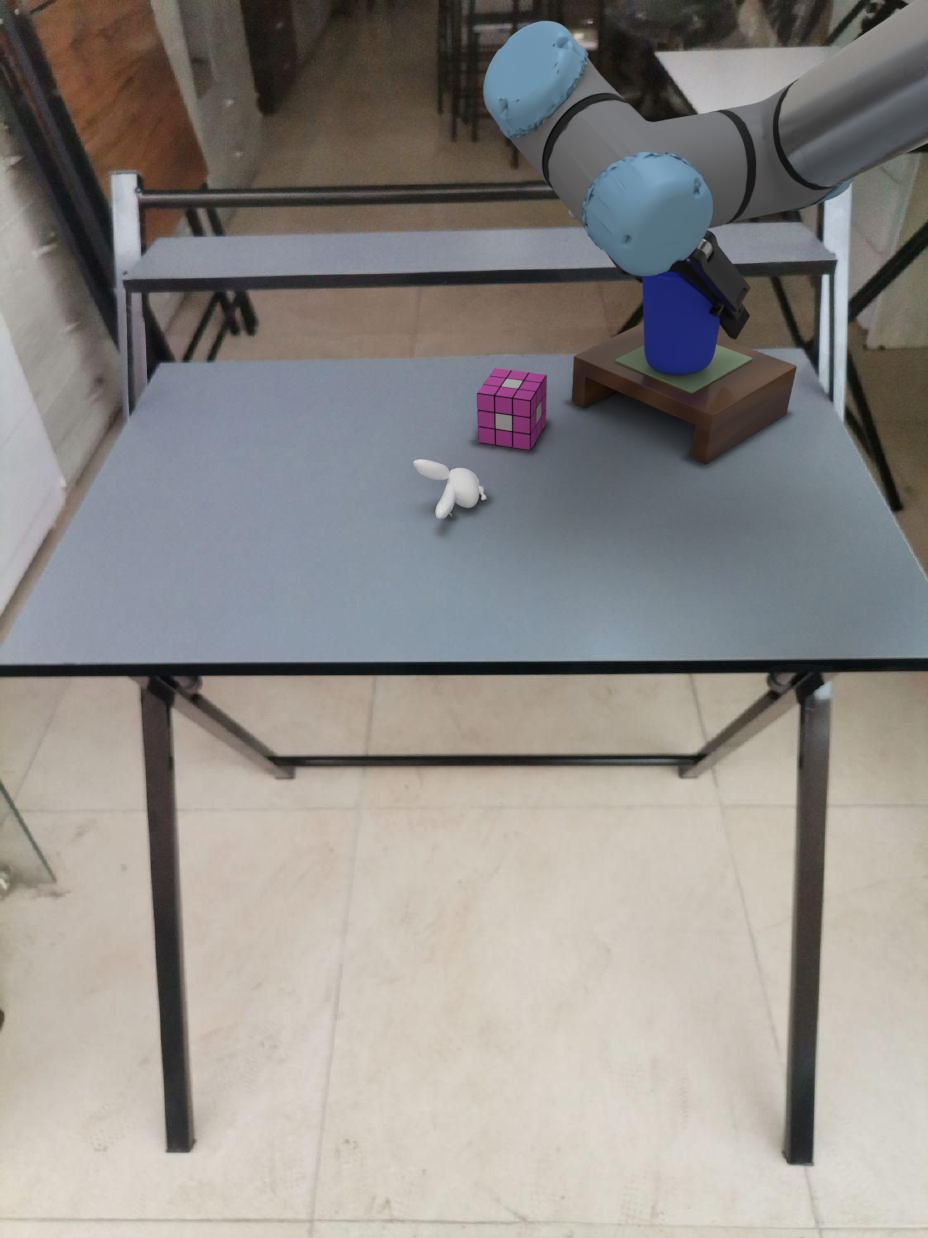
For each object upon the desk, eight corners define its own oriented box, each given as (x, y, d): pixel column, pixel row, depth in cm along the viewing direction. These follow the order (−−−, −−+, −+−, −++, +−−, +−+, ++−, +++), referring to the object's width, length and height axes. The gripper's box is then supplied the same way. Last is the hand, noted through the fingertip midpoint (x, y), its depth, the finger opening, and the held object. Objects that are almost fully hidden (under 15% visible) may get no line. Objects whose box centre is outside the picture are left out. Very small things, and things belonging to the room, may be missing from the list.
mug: (734, 339, 98) (746, 242, 92) (709, 385, 90) (720, 282, 84) (658, 332, 101) (664, 237, 95) (627, 376, 93) (631, 275, 87)
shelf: (787, 413, 98) (797, 363, 94) (705, 464, 91) (713, 413, 87) (654, 360, 108) (658, 313, 104) (571, 402, 101) (573, 354, 97)
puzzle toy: (478, 442, 96) (476, 392, 92) (495, 416, 100) (494, 367, 96) (530, 450, 94) (531, 400, 90) (546, 423, 98) (547, 374, 94)
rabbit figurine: (505, 508, 87) (447, 509, 81) (478, 529, 89) (420, 531, 83) (480, 454, 88) (422, 451, 82) (454, 476, 91) (396, 474, 85)
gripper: (509, 203, 83) (617, 320, 101) (686, 259, 71) (771, 379, 90) (551, 125, 82) (653, 258, 100) (738, 169, 70) (813, 310, 89)
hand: (709, 315), depth 95 cm, fingers closed on mug, 7 cm apart
